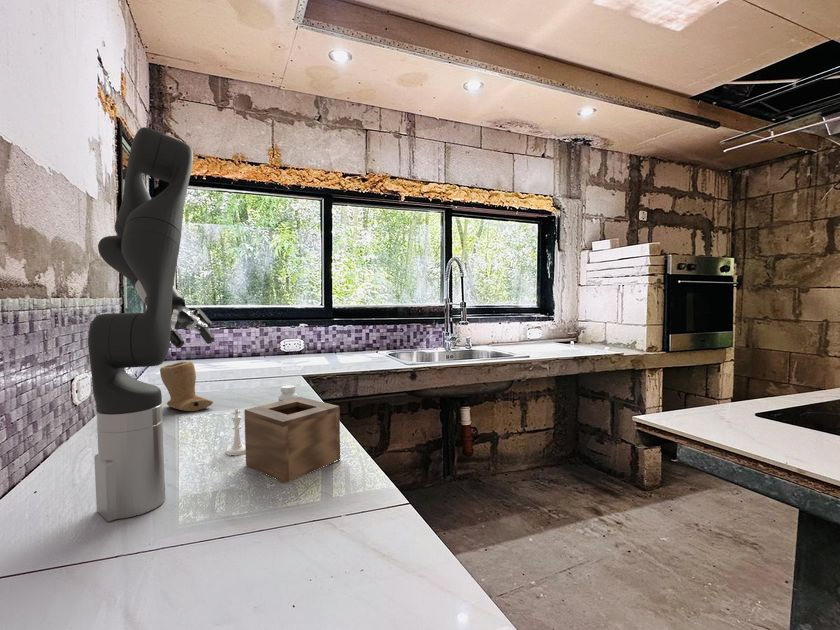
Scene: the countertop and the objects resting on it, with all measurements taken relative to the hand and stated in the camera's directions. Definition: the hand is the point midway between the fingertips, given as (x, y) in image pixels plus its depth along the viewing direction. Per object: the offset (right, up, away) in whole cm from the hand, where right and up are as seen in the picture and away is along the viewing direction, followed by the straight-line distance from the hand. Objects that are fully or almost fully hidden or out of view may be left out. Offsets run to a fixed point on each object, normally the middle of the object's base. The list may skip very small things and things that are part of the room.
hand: (197, 343), depth 101 cm
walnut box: (+26, -25, -9) cm, 37 cm away
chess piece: (+11, -25, -3) cm, 27 cm away
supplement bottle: (+15, -24, +22) cm, 36 cm away
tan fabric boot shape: (-22, -23, +35) cm, 47 cm away
